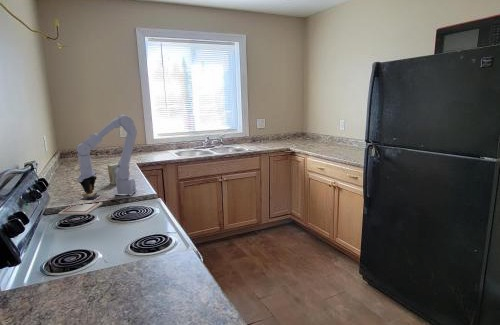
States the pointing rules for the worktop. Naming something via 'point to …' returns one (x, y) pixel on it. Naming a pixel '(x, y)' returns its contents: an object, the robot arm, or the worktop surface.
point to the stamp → (91, 193)
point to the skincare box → (112, 173)
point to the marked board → (80, 209)
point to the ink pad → (90, 197)
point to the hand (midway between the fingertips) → (89, 191)
